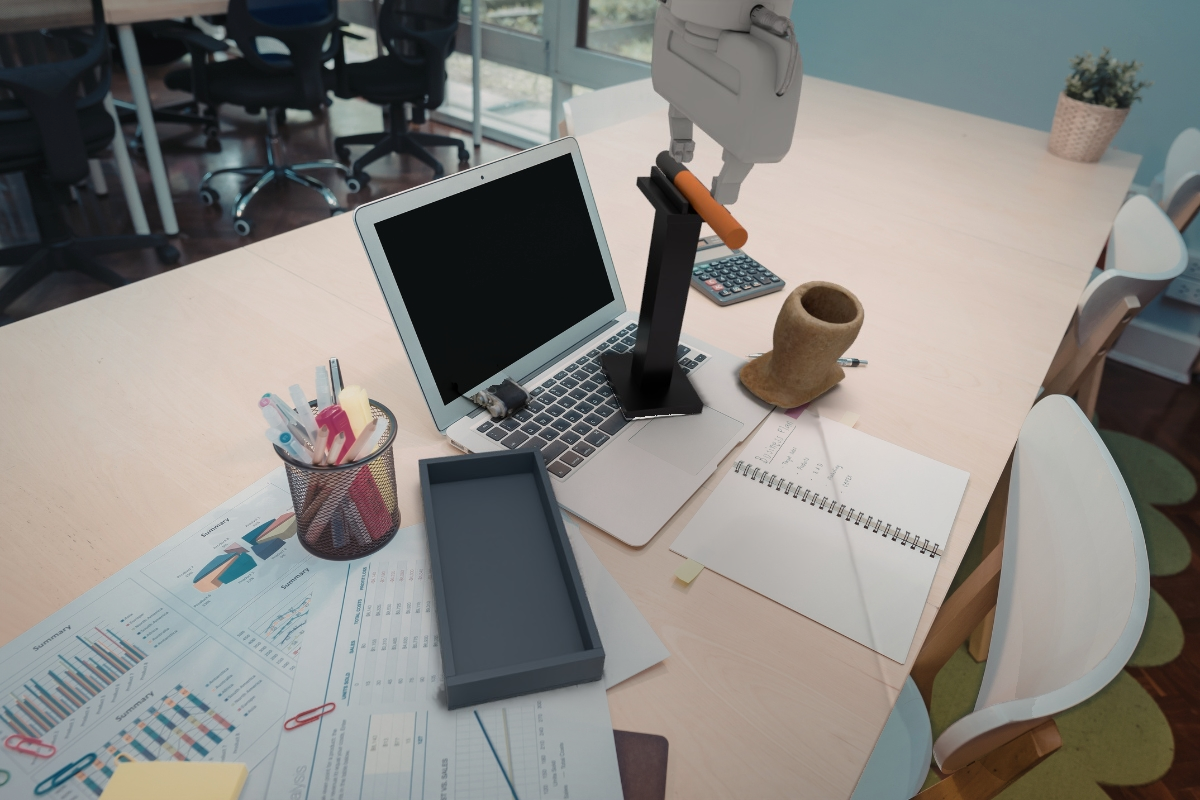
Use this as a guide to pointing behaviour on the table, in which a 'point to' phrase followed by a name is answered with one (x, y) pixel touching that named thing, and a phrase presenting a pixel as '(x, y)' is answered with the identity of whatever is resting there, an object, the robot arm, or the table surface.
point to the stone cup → (806, 345)
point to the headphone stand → (660, 311)
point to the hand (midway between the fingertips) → (700, 179)
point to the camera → (503, 397)
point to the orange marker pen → (703, 202)
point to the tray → (504, 579)
